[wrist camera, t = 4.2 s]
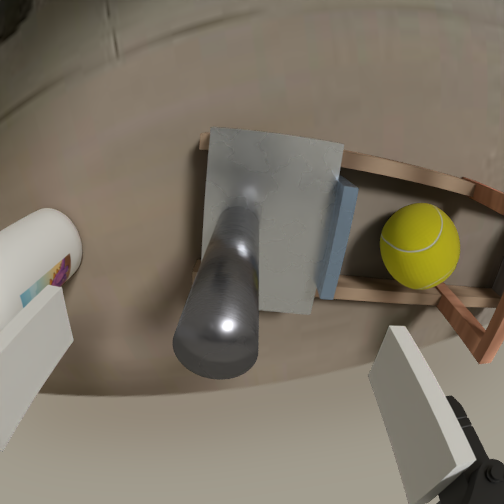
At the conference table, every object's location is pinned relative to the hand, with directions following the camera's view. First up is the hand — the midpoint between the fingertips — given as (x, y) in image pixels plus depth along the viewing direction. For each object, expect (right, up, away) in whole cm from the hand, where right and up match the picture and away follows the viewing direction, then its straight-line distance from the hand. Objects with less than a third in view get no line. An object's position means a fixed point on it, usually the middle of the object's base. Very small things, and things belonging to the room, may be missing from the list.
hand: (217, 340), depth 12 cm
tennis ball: (+15, +5, +15) cm, 22 cm away
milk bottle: (-19, +4, +17) cm, 26 cm away
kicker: (+2, +7, +15) cm, 17 cm away
